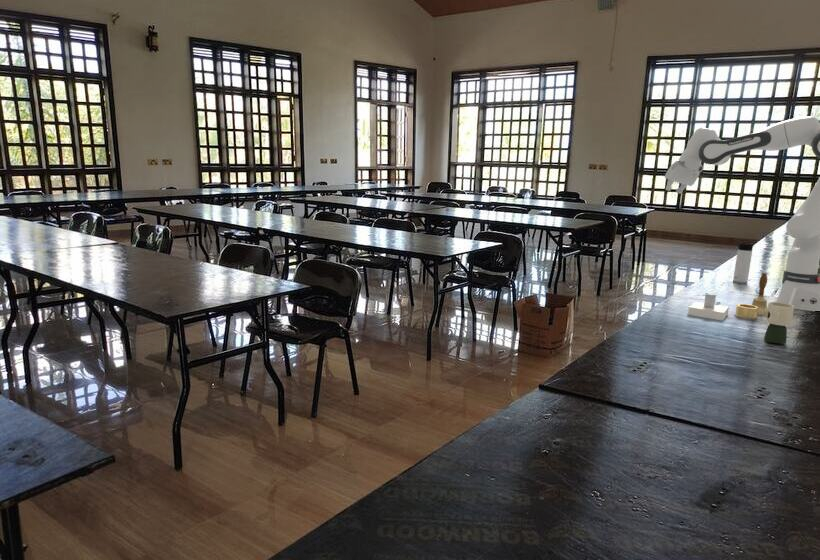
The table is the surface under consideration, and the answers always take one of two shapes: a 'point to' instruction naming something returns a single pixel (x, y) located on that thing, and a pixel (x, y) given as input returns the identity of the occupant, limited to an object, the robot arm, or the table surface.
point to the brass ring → (746, 311)
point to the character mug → (778, 321)
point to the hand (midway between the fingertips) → (672, 191)
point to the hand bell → (761, 296)
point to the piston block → (708, 308)
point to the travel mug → (742, 263)
